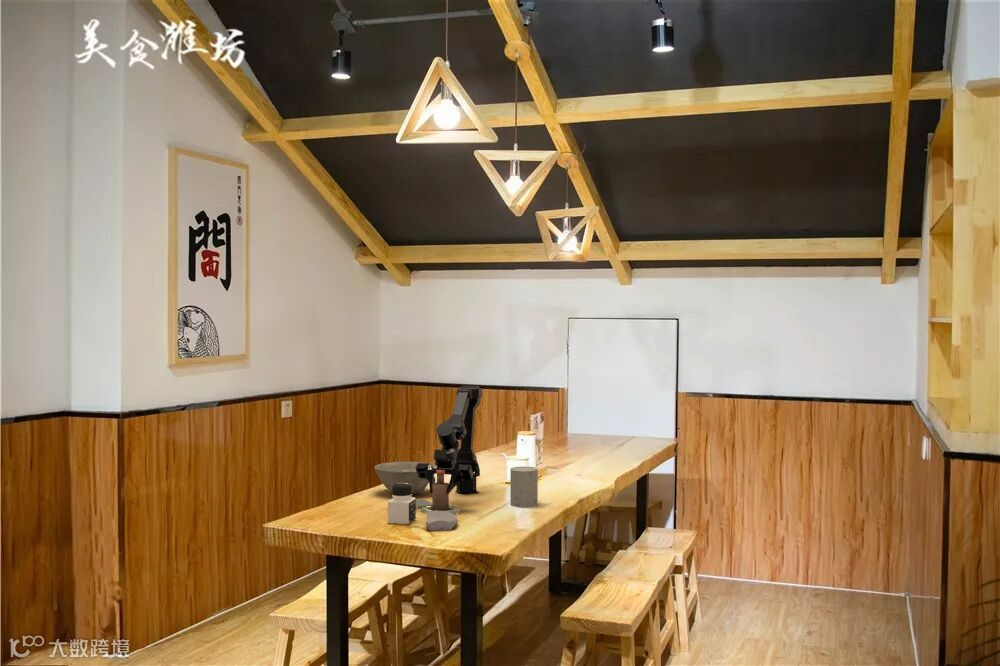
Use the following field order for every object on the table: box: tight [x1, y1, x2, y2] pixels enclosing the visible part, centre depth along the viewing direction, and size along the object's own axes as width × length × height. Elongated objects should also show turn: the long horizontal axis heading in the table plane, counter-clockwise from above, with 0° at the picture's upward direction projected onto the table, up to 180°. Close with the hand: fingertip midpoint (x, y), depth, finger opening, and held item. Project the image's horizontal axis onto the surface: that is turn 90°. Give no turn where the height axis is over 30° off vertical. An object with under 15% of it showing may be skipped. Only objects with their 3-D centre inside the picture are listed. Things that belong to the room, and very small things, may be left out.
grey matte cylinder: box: [509, 466, 539, 508], centre depth 310 cm, size 10×10×12 cm
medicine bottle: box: [387, 483, 417, 525], centre depth 284 cm, size 7×7×12 cm
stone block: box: [425, 510, 459, 532], centre depth 278 cm, size 12×5×10 cm
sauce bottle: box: [431, 469, 450, 511], centre depth 297 cm, size 5×5×14 cm
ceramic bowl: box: [374, 460, 437, 495], centre depth 328 cm, size 22×23×10 cm
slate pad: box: [416, 499, 432, 507], centre depth 309 cm, size 10×10×1 cm
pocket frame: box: [420, 505, 461, 515], centre depth 297 cm, size 10×10×1 cm
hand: (439, 492), depth 296 cm, fingers closed on sauce bottle, 5 cm apart
